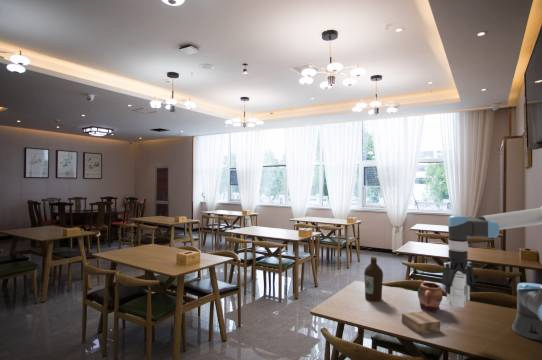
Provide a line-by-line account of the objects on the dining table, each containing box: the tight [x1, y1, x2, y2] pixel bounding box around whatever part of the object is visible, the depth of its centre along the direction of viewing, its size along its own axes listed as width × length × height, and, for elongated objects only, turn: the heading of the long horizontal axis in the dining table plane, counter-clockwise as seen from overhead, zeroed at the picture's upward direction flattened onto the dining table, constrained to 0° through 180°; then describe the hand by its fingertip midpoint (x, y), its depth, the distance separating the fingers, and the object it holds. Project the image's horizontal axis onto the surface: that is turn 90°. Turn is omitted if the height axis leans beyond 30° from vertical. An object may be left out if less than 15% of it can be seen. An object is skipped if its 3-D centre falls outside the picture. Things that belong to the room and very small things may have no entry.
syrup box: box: [449, 271, 467, 309], centre depth 146 cm, size 6×6×14 cm
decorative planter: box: [417, 281, 443, 313], centre depth 177 cm, size 20×12×14 cm, turn 148°
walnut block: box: [401, 310, 441, 335], centre depth 156 cm, size 12×12×5 cm
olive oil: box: [363, 256, 384, 303], centre depth 193 cm, size 11×11×25 cm
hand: (458, 300), depth 146 cm, fingers closed on syrup box, 8 cm apart
